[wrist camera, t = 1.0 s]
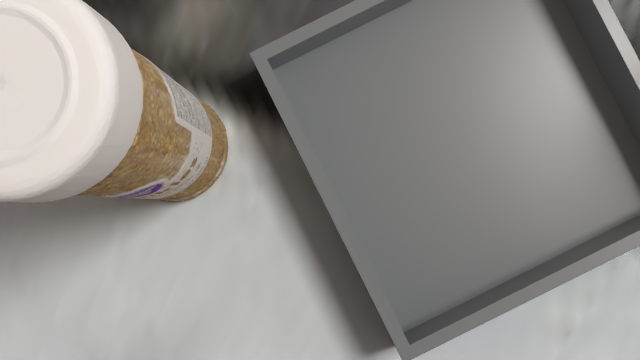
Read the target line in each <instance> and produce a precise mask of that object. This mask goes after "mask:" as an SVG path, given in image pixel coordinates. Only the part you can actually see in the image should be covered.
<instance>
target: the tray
mask: <svg viewBox="0 0 640 360" xmlns="http://www.w3.org/2000/svg"><path fill="white" fill-rule="evenodd" d="M250 55H251V57H252V59H253V61H254V63H255V65H256V67H257V69H258V71H259V73H260V75H261V77H262V79H263V81H264V83H265V85H266V87H267V89H268V92H269V94H270V96H271V98H272V100H273V102H274V104H275V106H276V108H277V110H278V112H279V114H280V116H281V118H282V120H283V122H284V124H285V126H286V128H287V130H288V132H289V134H290V136H291V138H292V140H293V142H294V144H295V146H296V148H297V150H298V152H299V154H300V156H301V158H302V160H303V162H304V164H305V166H306V168H307V170H308V172H309V174H310V176H311V178H312V180H313V182H314V184H315V186H316V188H317V190H318V192H319V194H320V196H321V198H322V200H323V202H324V204H325V206H326V208H327V210H328V212H329V214H330V216H331V218H332V220H333V222H334V224H335V226H336V228H337V230H338V232H339V234H340V236H341V238H342V240H343V242H344V244H345V246H346V248H347V250H348V252H349V254H350V256H351V258H352V260H353V262H354V264H355V266H356V268H357V270H358V272H359V274H360V276H361V278H362V280H363V282H364V284H365V286H366V288H367V290H368V292H369V294H370V296H371V298H372V300H373V302H374V304H375V306H376V308H377V310H378V312H379V314H380V316H381V318H382V320H383V323H384V325H385V327H386V329H387V331H388V333H389V335H390V337H391V339H392V341H393V343H394V345H395V347H396V349H397V351H398V353H399V355H400V357H401V359H402V360H411V359H413V358H415V357H417V356H419V355H421V354H423V353H425V352H427V351H429V350H431V349H433V348H435V347H437V346H439V345H441V344H443V343H445V342H447V341H449V340H451V339H453V338H455V337H457V336H459V335H461V334H463V333H465V332H467V331H469V330H471V329H473V328H475V327H477V326H479V325H481V324H483V323H485V322H487V321H489V320H491V319H493V318H495V317H497V316H499V315H501V314H503V313H505V312H508V311H510V310H512V309H514V308H516V307H518V306H520V305H522V304H524V303H526V302H528V301H530V300H532V299H534V298H536V297H538V296H540V295H542V294H544V293H546V292H548V291H550V290H552V289H554V288H556V287H558V286H560V285H562V284H564V283H566V282H568V281H570V280H572V279H574V278H576V277H578V276H580V275H582V274H584V273H586V272H588V271H590V270H592V269H594V268H596V267H598V266H600V265H602V264H604V263H606V262H608V261H610V260H612V259H614V258H616V257H618V256H620V255H622V254H624V253H626V252H628V251H630V250H632V249H634V248H636V247H638V246H640V61H639V59H638V57H637V55H636V53H635V51H634V50H633V48H632V46H631V44H630V42H629V40H628V38H627V36H626V34H625V32H624V31H623V29H622V27H621V25H620V23H619V21H618V19H617V17H616V15H615V13H614V12H613V10H612V8H611V6H610V4H609V2H608V0H355V1H353V2H351V3H349V4H347V5H345V6H343V7H341V8H339V9H337V10H335V11H333V12H331V13H329V14H327V15H325V16H323V17H321V18H319V19H317V20H315V21H313V22H311V23H309V24H307V25H305V26H303V27H301V28H299V29H297V30H295V31H293V32H291V33H289V34H287V35H285V36H283V37H281V38H279V39H277V40H275V41H273V42H271V43H269V44H267V45H265V46H263V47H261V48H259V49H257V50H255V51H253V52H251V53H250Z"/></svg>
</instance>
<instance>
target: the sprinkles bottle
mask: <svg viewBox="0 0 640 360" xmlns="http://www.w3.org/2000/svg"><path fill="white" fill-rule="evenodd" d="M227 152H228V141H227V135H226V130H225V126H224V125H223V123H222V122H221V120H220V118H219V116H218V115H217V114H216V112H215V111H214V110H213V109H212V108H211V107H210V106H209V105H207V104H206V103H204V102H203V101H201V100H199V99H197V98H195V97H194V96H193V95H192V94H191V93H190V92H189V91H187V90H186V89H185V88H183V87H182V86H181V85H180V84H178V83H177V82H176V81H174V80H173V79H172V78H171V77H169V76H168V75H167V74H166V73H164V72H163V71H162V70H160V69H159V68H158V67H157V66H155V65H154V64H153V63H152V62H150V61H149V60H148V59H147V58H145V57H144V56H142V55H141V54H139V53H137V52H136V51H134V50H132V49H131V48H130V47H129V45H128V44H127V42H126V41H125V39H124V38H123V36H122V35H121V34H120V33H119V31H118V30H117V29H116V28H115V27H114V26H113V25H112V24H111V23H110V22H109V21H108V20H106V19H105V18H104V17H103V16H101V15H100V14H99V13H98V12H96V11H95V10H94V9H93V8H91V7H90V6H89V5H87V4H86V3H85V2H83V1H82V0H0V202H14V203H40V202H51V201H56V200H61V199H65V198H68V197H71V196H74V195H83V194H90V195H95V196H99V197H117V198H139V199H160V200H165V201H183V200H187V199H190V198H194V197H196V196H198V195H200V194H201V193H203V192H205V191H206V190H207V189H209V188H210V187H211V186H212V185H213V184H214V182H215V181H216V180H217V179H218V178H219V176H220V175H221V173H222V171H223V169H224V166H225V163H226V160H227Z"/></svg>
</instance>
